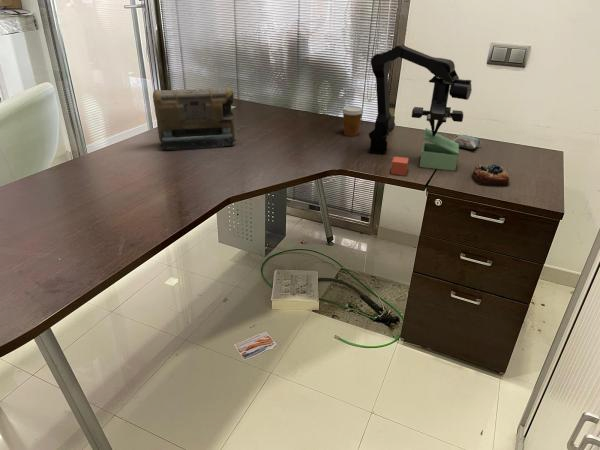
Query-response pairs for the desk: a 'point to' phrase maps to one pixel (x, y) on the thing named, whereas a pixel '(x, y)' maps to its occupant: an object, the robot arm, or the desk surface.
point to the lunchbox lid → (442, 141)
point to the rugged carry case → (194, 118)
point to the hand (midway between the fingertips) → (433, 135)
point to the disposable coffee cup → (352, 120)
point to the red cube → (399, 166)
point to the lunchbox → (437, 157)
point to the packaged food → (467, 141)
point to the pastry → (490, 175)
